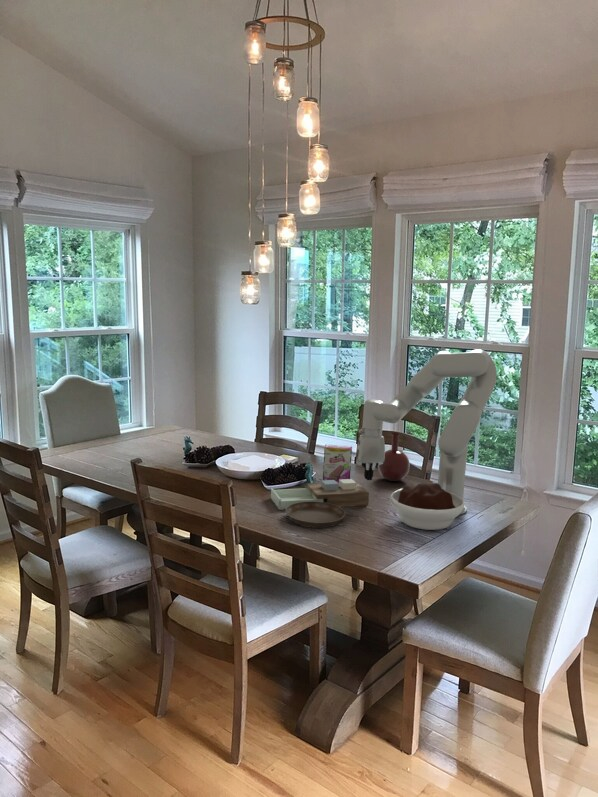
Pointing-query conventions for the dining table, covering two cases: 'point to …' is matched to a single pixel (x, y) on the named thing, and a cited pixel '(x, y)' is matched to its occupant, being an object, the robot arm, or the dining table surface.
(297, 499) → the tray
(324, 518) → the plant saucer
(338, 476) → the candy bar box
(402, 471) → the round-bottom flask
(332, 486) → the slate tile
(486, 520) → the dining table surface
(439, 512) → the white serving bowl
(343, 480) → the cream tile
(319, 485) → the wooden board
